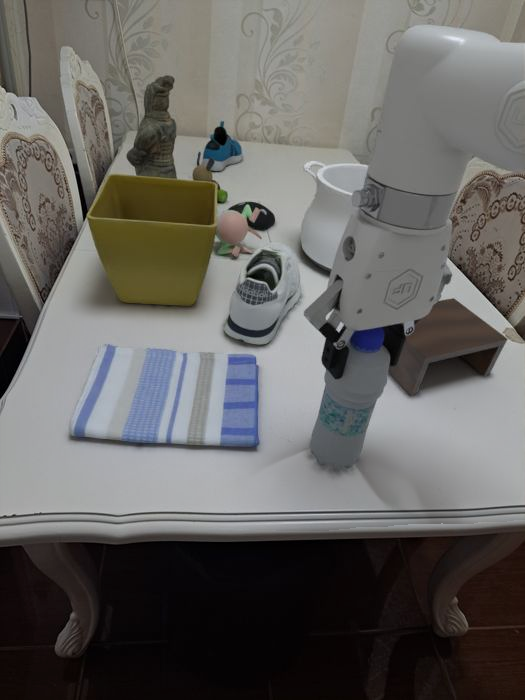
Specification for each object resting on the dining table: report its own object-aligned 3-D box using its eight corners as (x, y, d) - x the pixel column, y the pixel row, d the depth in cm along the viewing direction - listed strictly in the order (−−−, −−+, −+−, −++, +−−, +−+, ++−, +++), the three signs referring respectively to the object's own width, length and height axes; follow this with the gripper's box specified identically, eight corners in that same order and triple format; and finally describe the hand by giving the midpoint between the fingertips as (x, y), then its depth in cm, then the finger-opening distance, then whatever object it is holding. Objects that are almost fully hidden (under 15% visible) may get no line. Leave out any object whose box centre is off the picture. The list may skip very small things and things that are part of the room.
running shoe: (305, 271, 99) (315, 217, 92) (287, 356, 76) (298, 292, 69) (252, 262, 100) (257, 207, 93) (218, 343, 77) (222, 278, 70)
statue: (152, 209, 116) (147, 66, 98) (186, 220, 113) (187, 74, 95) (122, 225, 108) (110, 71, 90) (157, 236, 105) (152, 80, 87)
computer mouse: (235, 209, 122) (236, 193, 119) (278, 222, 118) (280, 206, 115) (219, 218, 116) (220, 202, 114) (263, 232, 112) (265, 216, 110)
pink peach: (275, 222, 102) (249, 212, 108) (246, 197, 95) (220, 187, 101) (245, 271, 103) (221, 258, 109) (214, 250, 96) (190, 237, 102)
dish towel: (101, 353, 72) (99, 337, 71) (259, 365, 74) (261, 350, 72) (63, 441, 59) (60, 425, 57) (258, 454, 60) (260, 438, 58)
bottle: (362, 479, 59) (410, 348, 47) (307, 475, 58) (341, 341, 46) (355, 437, 64) (396, 310, 52) (304, 433, 64) (333, 304, 52)
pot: (271, 260, 101) (281, 176, 91) (312, 223, 120) (325, 149, 109) (404, 302, 93) (432, 215, 83) (426, 255, 112) (452, 179, 101)
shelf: (489, 374, 78) (507, 338, 74) (410, 396, 72) (425, 358, 67) (440, 332, 86) (453, 298, 82) (365, 348, 80) (375, 311, 76)
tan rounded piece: (229, 201, 126) (232, 156, 119) (204, 208, 120) (206, 162, 113) (205, 190, 130) (206, 146, 123) (180, 196, 125) (180, 151, 118)
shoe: (248, 154, 160) (252, 115, 153) (224, 174, 142) (227, 130, 134) (222, 149, 161) (224, 110, 154) (195, 168, 143) (196, 125, 136)
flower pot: (212, 318, 82) (217, 225, 72) (96, 313, 80) (84, 216, 70) (213, 265, 97) (217, 181, 87) (116, 259, 95) (108, 173, 85)
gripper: (342, 227, 35) (304, 405, 46) (512, 211, 42) (443, 371, 53) (295, 190, 41) (271, 358, 51) (453, 181, 47) (401, 332, 58)
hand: (359, 363), depth 52 cm, fingers closed on bottle, 6 cm apart
